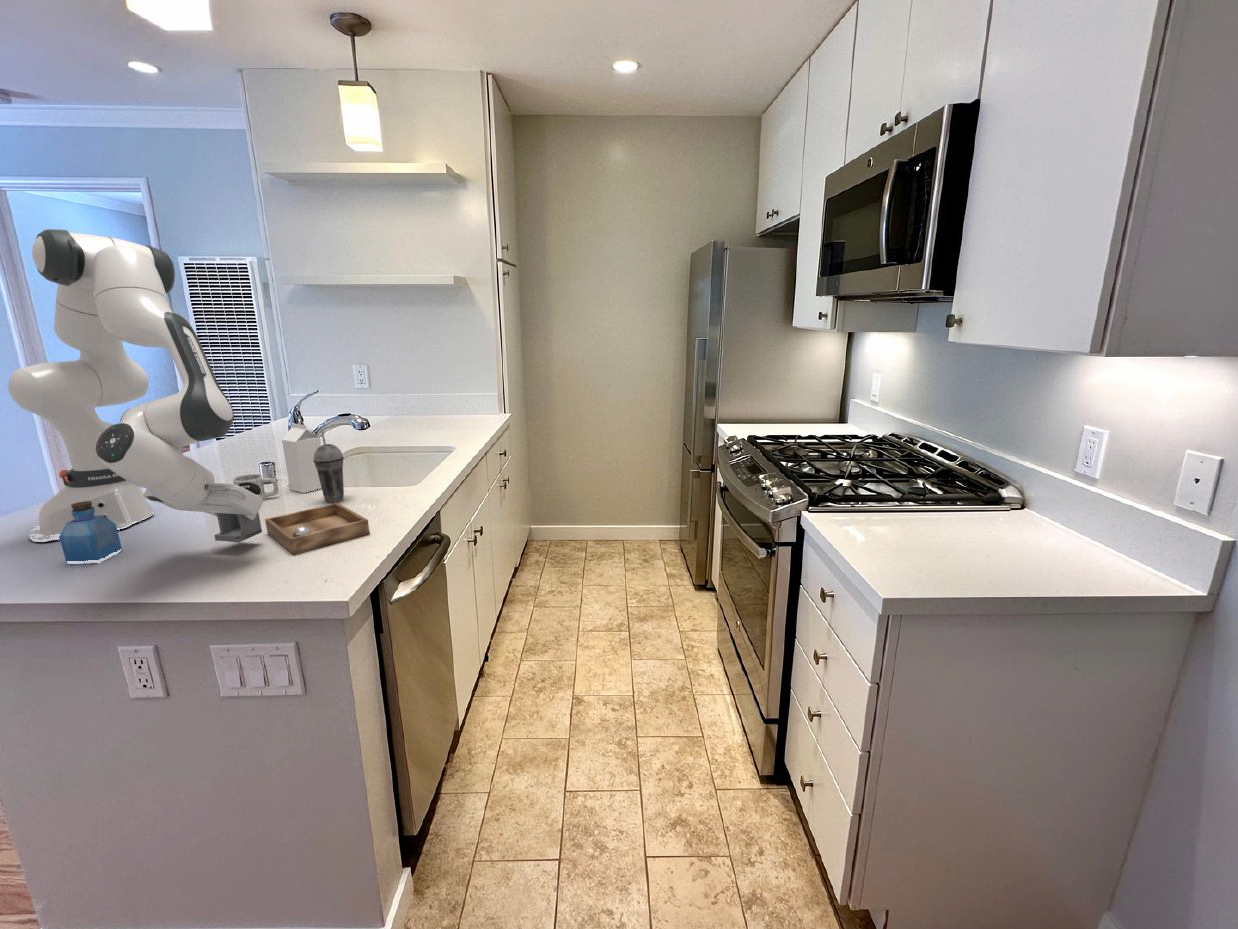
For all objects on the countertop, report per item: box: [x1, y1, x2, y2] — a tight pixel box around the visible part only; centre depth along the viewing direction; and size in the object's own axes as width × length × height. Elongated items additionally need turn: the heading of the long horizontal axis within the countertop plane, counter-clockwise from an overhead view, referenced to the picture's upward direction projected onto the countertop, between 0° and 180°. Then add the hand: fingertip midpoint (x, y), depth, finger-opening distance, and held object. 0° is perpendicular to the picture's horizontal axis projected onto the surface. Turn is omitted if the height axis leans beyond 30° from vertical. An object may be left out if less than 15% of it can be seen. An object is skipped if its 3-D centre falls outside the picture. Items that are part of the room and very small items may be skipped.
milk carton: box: [281, 422, 322, 494], centre depth 164 cm, size 7×7×19 cm
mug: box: [232, 473, 279, 502], centre depth 156 cm, size 10×7×7 cm
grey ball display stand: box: [213, 511, 263, 543], centre depth 122 cm, size 6×6×8 cm
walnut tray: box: [264, 502, 371, 556], centre depth 131 cm, size 16×18×4 cm
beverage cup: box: [313, 428, 345, 504], centre depth 153 cm, size 7×7×20 cm
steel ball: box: [293, 526, 311, 537], centre depth 124 cm, size 4×4×4 cm
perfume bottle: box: [59, 501, 123, 562], centre depth 118 cm, size 6×6×12 cm
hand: (238, 515), depth 123 cm, fingers closed on grey ball display stand, 6 cm apart
